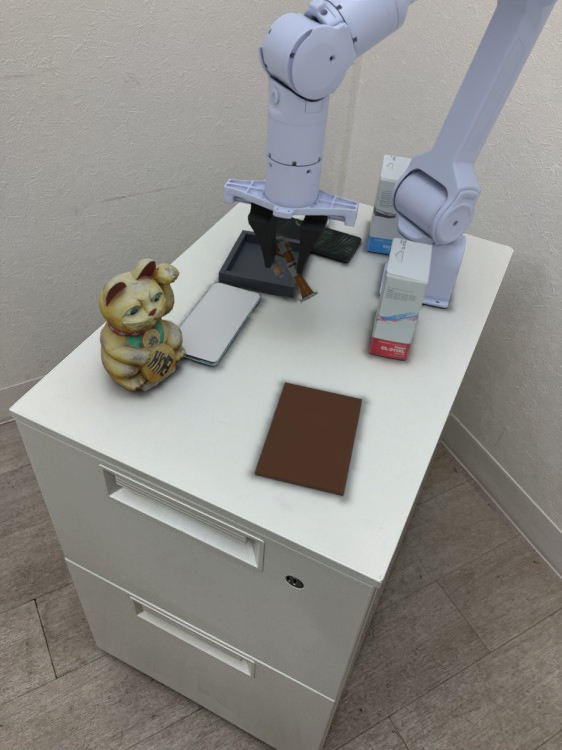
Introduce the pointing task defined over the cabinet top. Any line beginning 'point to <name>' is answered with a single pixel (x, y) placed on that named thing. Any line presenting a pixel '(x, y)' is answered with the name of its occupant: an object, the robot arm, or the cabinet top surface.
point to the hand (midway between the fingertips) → (285, 266)
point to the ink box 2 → (401, 298)
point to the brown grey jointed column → (292, 269)
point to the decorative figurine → (140, 326)
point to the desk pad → (311, 439)
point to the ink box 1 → (385, 205)
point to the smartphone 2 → (321, 239)
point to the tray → (258, 267)
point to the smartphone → (216, 321)
